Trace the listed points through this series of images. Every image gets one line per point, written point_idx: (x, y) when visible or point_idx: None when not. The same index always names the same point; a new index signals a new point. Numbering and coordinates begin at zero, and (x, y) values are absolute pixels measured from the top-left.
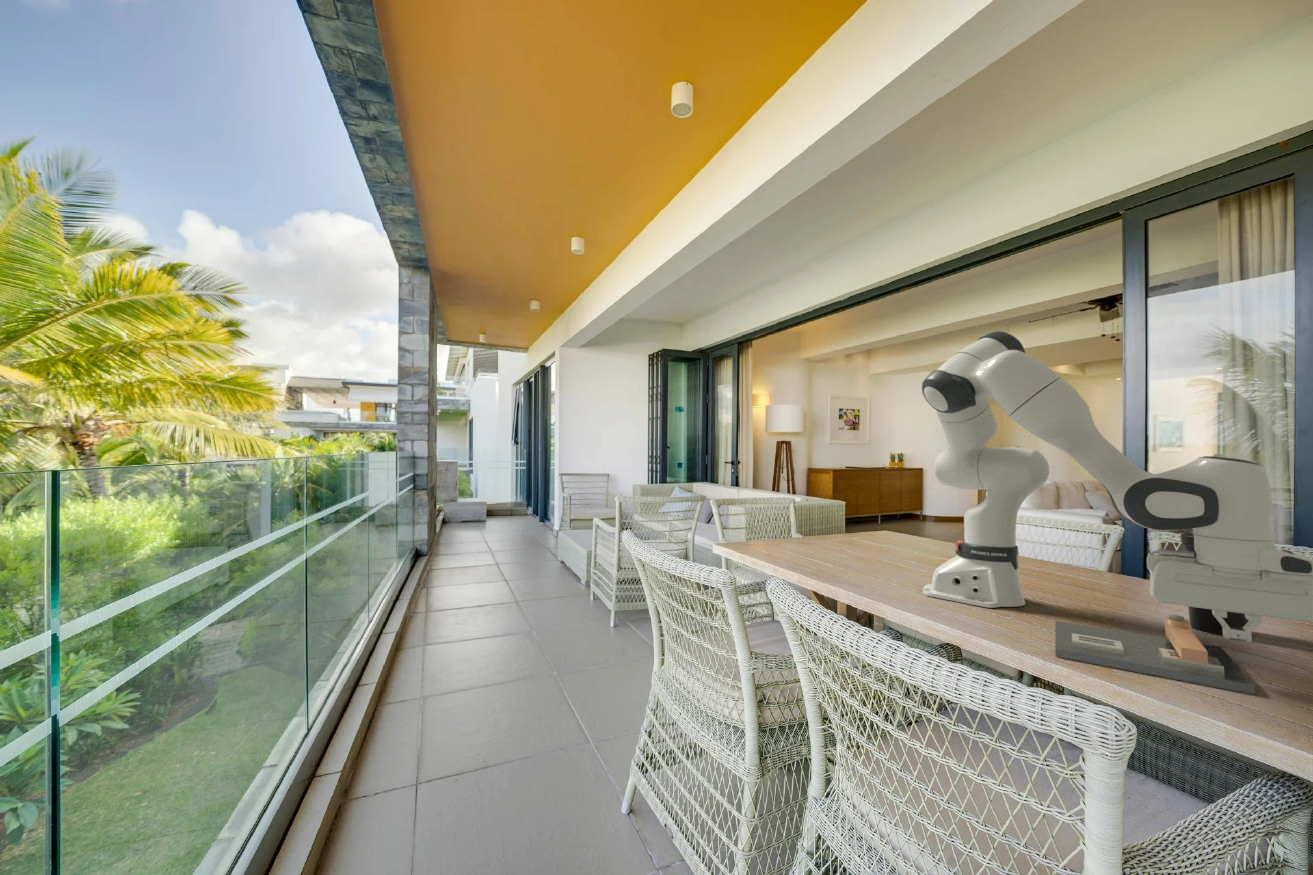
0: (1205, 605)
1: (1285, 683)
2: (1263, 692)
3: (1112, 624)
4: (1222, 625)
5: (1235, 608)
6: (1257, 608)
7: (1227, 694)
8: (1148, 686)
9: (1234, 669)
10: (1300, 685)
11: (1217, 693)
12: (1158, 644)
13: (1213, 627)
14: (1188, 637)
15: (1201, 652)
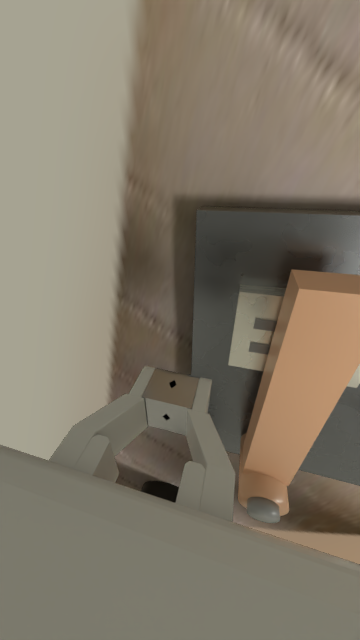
0: (299, 577)
1: (133, 331)
2: (178, 246)
3: (314, 511)
4: (211, 423)
5: (125, 523)
6: (12, 511)
7: (276, 151)
8: None
9: (205, 326)
10: (115, 332)
11: (307, 136)
12: None
13: (175, 499)
14: (282, 418)
15: (317, 288)
